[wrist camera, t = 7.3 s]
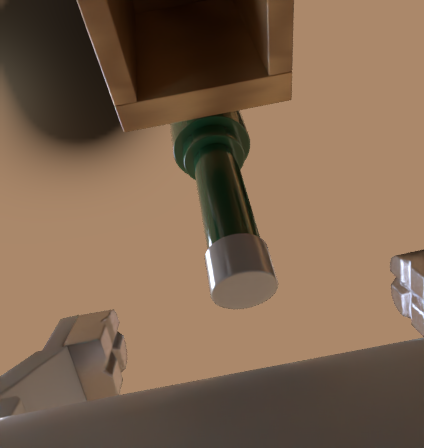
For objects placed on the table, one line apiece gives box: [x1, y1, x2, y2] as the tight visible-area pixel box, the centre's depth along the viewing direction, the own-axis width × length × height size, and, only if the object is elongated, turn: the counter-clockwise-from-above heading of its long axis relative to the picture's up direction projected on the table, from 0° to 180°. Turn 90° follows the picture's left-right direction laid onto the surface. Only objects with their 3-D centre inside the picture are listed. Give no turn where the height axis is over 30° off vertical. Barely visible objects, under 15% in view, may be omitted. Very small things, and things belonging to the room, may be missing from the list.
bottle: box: [170, 110, 278, 309], centre depth 23 cm, size 20×4×4 cm, turn 172°
